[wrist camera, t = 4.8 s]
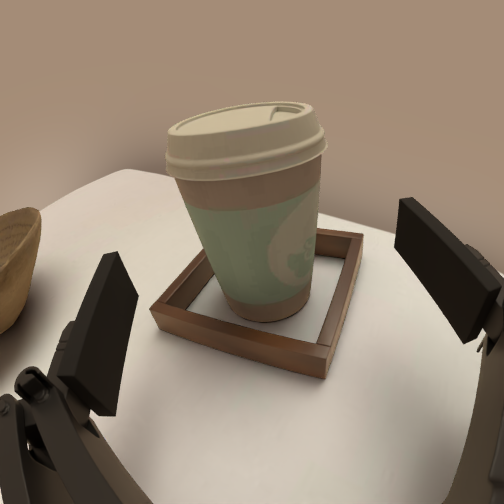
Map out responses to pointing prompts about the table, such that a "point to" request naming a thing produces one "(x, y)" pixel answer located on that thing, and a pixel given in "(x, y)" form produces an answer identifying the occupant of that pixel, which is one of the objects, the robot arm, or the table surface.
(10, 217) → the bowl
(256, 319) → the coffee cup
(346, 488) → the table surface
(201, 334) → the wooden square frame
